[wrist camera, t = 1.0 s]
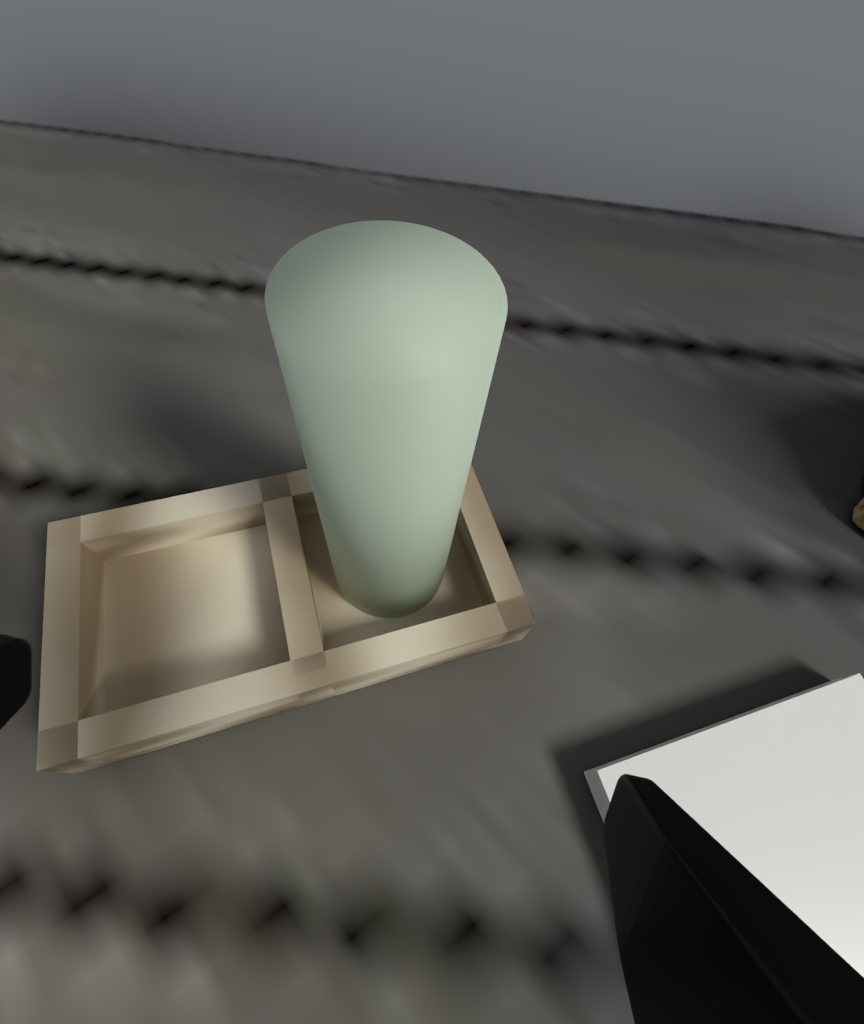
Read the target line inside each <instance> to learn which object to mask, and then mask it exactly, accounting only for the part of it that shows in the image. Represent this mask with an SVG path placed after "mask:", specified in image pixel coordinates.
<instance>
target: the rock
mask: <svg viewBox="0 0 864 1024" xmlns="http://www.w3.org/2000/svg"><path fill="white" fill-rule="evenodd" d="M852 521H853V522H854V523H855V524H856V525H857V526H858V527H860V528H861V529H862V530H863V531H864V498H863V499H862V500H860V502H859V503H858V505H856V506H855V507H854V510H853V516H852Z"/></svg>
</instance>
